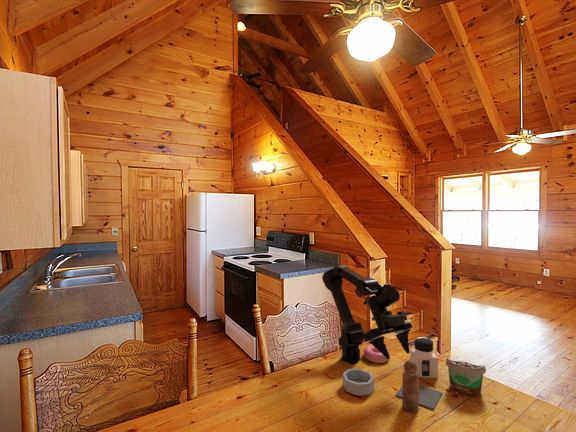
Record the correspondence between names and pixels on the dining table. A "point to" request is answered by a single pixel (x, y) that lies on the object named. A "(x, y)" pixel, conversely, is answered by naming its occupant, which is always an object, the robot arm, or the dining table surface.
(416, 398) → the pepper mill
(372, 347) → the doughnut
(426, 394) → the mat
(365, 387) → the bowl
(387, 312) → the robot arm
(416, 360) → the container
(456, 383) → the food container
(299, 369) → the dining table surface
